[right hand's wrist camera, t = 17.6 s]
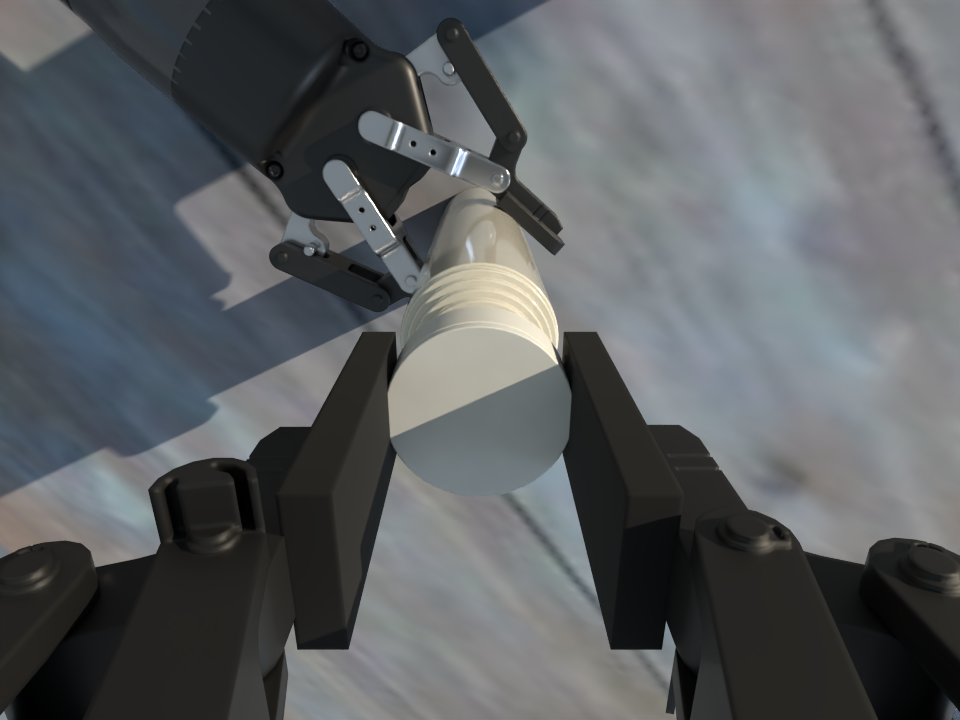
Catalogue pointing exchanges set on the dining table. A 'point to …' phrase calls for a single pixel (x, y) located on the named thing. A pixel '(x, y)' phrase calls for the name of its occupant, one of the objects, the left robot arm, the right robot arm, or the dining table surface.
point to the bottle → (478, 267)
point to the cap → (479, 402)
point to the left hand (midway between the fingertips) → (520, 285)
